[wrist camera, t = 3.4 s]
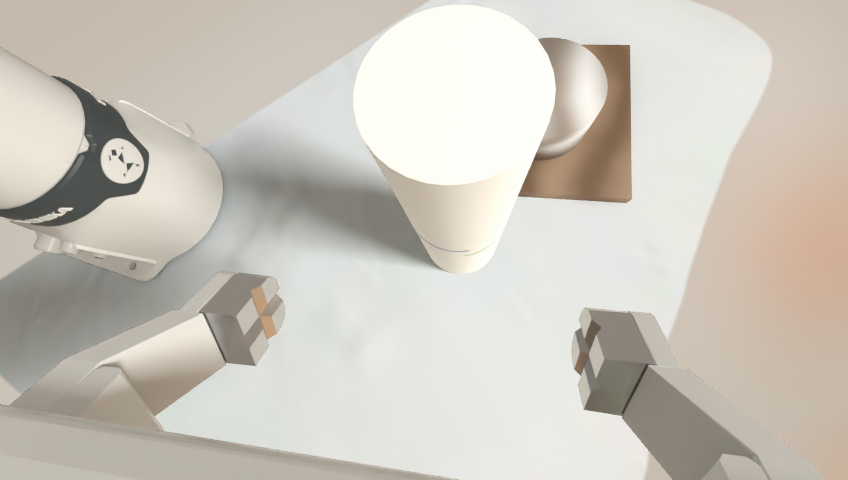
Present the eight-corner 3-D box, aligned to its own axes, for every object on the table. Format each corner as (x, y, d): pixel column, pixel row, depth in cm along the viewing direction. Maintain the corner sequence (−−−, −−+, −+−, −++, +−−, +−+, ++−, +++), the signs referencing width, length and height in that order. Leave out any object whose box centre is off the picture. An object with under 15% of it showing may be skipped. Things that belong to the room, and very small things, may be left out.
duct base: (445, 191, 38) (441, 168, 32) (458, 51, 42) (457, 6, 36) (626, 202, 36) (658, 179, 30) (624, 53, 39) (653, 5, 33)
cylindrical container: (427, 204, 38) (363, 8, 14) (496, 206, 37) (555, 1, 13) (423, 272, 37) (342, 183, 13) (495, 276, 36) (556, 187, 12)
